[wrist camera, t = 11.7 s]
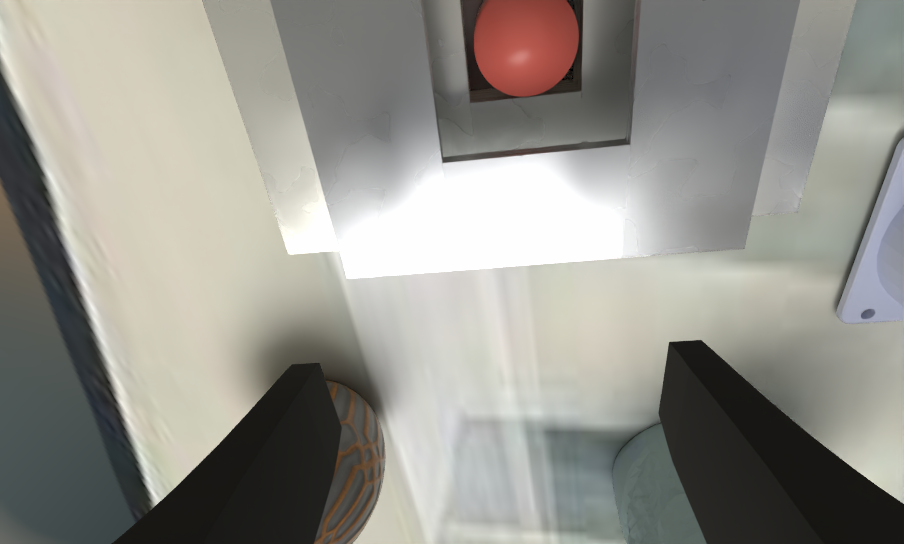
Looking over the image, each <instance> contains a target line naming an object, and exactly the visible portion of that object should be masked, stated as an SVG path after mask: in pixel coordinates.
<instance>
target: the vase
mask: <svg viewBox="0 0 904 544" xmlns="http://www.w3.org/2000/svg"><path fill="white" fill-rule="evenodd" d="M325 381H326V383H327V386H328V389H329V392H330V395H331V398H332V401H333V403H334V406H335V409H336V412H337V415H338V418H339V421H340V424H341V426H342V431H341V437H340V444H339V450H338V456H337V462H336V467H335V473H334V477H333V480H332V484H331V488H330V491H329V494H328V498H327V501H326V505H325V508H324V512H323V515H322V518H321V522H320V525H319V528H318V532H317V535H316V538H315V542H314V544H352V543H353V542H354V541H355V540H356V539H357V537H358V536H359V535H360V533H361V532H362V531H363V529H364V527H365V526H366V524H367V522H368V520H369V518H370V517H371V515H372V513H373V510H374V508H375V506H376V504H377V501H378V498H379V495H380V492H381V487H382V483H383V477H384V470H385V443H384V437H383V432H382V429H381V426H380V423H379V420H378V418H377V416H376V414H375V413H374V411H373V410H372V408H371V407H370V405H369V404H368V403H367V402H366V401H365V400H364V399H363V398H362V397H361V396H360V395H358V394H357V393H356V392H355V391H353V390H352V389H350V388H348V387H346V386H344V385H342V384H339V383H336V382H332V381H327V380H325Z"/></svg>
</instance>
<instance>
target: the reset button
mask: <svg viewBox="0 0 904 544" xmlns="http://www.w3.org/2000/svg"><path fill="white" fill-rule="evenodd" d="M578 42H579V29H578V24H577V20H576V16H575V14H574V12H573V10H572V8H571V6H570V5H569V3H568V2H567V1H566V0H484V1H483V3H482V4H481V6H480V8H479V10H478V13H477V16H476V21H475V29H474V52H475V58H476V61H477V64H478V67H479V69H480V71H481V73H482V74H483V76H484V77H485V79H486V80H487V81H488V82H489V83H490V84H491V85H492V86H493V87H495V88H496V89H497V90H499V91H501V92H503V93H506V94H508V95H512V96H519V97H528V96H533V95H537V94H540V93H543V92H545V91H547V90H549V89H550V88H552V87H553V86H555V85H556V84H557V83H558V82H559V81H560V80H561V79H562V78H563V77H564V76H565V75H566V73H567V72H568V70H569V69H570V67H571V65H572V63H573V61H574V59H575V56H576V53H577V48H578Z"/></svg>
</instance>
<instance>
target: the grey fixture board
mask: <svg viewBox="0 0 904 544" xmlns="http://www.w3.org/2000/svg"><path fill="white" fill-rule="evenodd" d="M856 1H857V0H574V14H575V16H576V20H577V24H578V29H579V42H578V48H577V53H576V56H575V59H574V61H573V80H564V81H559V82H558V83H557V84H556V85H555V86H553V87H552V88H550V89H549V90H547V91H545V92H543V93H540V94H537V95H533V96H528V97H519V96H512V95H508V94H506V93H503V92H501V91H499V90H497V89H496V88H492V89H483V90H474V91H470V81H469V70H468V60H467V49H466V38H465V28H464V17H463V7H462V0H202V2H203V5H204V8H205V10H206V13H207V16H208V19H209V22H210V25H211V28H212V31H213V34H214V37H215V40H216V43H217V46H218V49H219V52H220V55H221V57H222V60H223V63H224V66H225V69H226V72H227V75H228V78H229V81H230V84H231V87H232V90H233V93H234V96H235V99H236V102H237V104H238V107H239V110H240V113H241V116H242V119H243V122H244V125H245V128H246V131H247V134H248V137H249V140H250V143H251V146H252V149H253V152H254V154H255V157H256V160H257V163H258V166H259V169H260V172H261V175H262V178H263V181H264V184H265V187H266V190H267V193H268V196H269V199H270V201H271V204H272V207H273V210H274V213H275V216H276V219H277V222H278V225H279V228H280V231H281V234H282V237H283V240H284V243H285V246H286V248H287V251H288V254H301V253H314V252H326V251H338V250H339V252H340V255H341V259H342V263H343V266H344V270H345V274H346V277H347V279H353V278H366V277H379V276H393V275H406V274H419V273H432V272H445V271H458V270H471V269H484V268H497V267H511V266H524V265H537V264H550V263H563V262H576V261H589V260H602V259H615V258H629V257H642V256H655V255H668V254H681V253H694V252H707V251H720V250H733V249H744V248H745V243H746V239H747V235H748V230H749V226H750V221H751V217H752V216H764V215H776V214H788V213H798V209H799V206H800V202H801V199H802V195H803V191H804V188H805V184H806V181H807V177H808V173H809V170H810V166H811V163H812V159H813V155H814V152H815V148H816V145H817V141H818V137H819V134H820V130H821V127H822V123H823V120H824V116H825V112H826V109H827V105H828V102H829V98H830V94H831V91H832V87H833V84H834V80H835V76H836V73H837V69H838V66H839V62H840V59H841V55H842V51H843V48H844V44H845V41H846V37H847V33H848V30H849V26H850V23H851V19H852V15H853V12H854V8H855V5H856Z"/></svg>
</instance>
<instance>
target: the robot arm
mask: <svg viewBox="0 0 904 544" xmlns="http://www.w3.org/2000/svg"><path fill="white" fill-rule="evenodd" d="M865 310H866V311H865ZM863 311H865V312H863ZM862 312H863V313H862ZM836 315H837V316H838V318H839V319H840V320H841V321H842V322H844V323H848V324H854V323H870V322H886V321H903V320H904V137H903V138H902V139H901V140H900V142H899V143H898V145H897V147H896V150H895V153H894V155H893V158H892V161H891V163H890V166H889V169H888V172H887V174H886V177H885V180H884V183H883V185H882V188H881V191H880V193H879V196H878V199H877V202H876V204H875V207H874V210H873V213H872V215H871V218H870V221H869V223H868V226H867V229H866V232H865V234H864V237H863V240H862V242H861V245H860V248H859V251H858V253H857V256H856V259H855V262H854V264H853V267H852V270H851V272H850V275H849V278H848V281H847V283H846V286H845V289H844V292H843V294H842V297H841V300H840V302H839V305H838V308H837V311H836ZM659 416H660V420H661V424H662V427H663V431H664V435H665V438H666V442H667V445H668V448H669V452H670V455H671V458H672V462H673V464H674V467H675V469H676V472H677V474H678V476H679V479H680V481H681V484H682V486H683V488H684V491H685V493H686V496H687V498H688V501H689V503H690V505H691V508H692V510H693V512H694V515H695V517H696V519H697V522H698V524H699V527H700V529H701V531H702V534H703V536H704V538H705V541H706V543H707V544H904V504H903V503H901V502H900V501H898V500H897V499H896V498H894V497H893V496H891V495H890V494H888V493H887V492H885V491H884V490H882V489H881V488H880V487H878V486H877V485H875V484H874V483H873V482H871V481H870V480H868V479H867V478H866V477H864V476H863V475H862V474H860V473H859V472H857V471H856V470H855V469H853V468H852V467H851V466H849V465H848V464H847V463H846V462H844V461H843V460H842V459H840V458H839V457H838V456H836V455H835V454H834V453H833V452H831V451H830V450H829V449H827V448H826V447H825V446H823V445H822V444H821V443H820V442H818V441H817V440H816V439H814V438H813V437H812V436H811V435H810V434H808V433H807V432H806V431H805V430H803V429H802V428H801V427H800V426H799V425H797V424H796V423H795V422H794V421H793V420H791V419H790V418H789V417H788V416H787V415H785V414H784V413H783V412H782V411H781V410H780V409H778V408H777V407H776V406H775V405H774V404H772V403H771V402H770V401H769V400H768V399H767V398H765V397H764V396H763V395H762V394H761V393H760V392H759V391H757V390H756V389H755V388H754V387H753V386H752V385H751V384H750V383H749V382H747V381H746V380H745V379H744V378H743V377H742V376H741V375H740V374H738V373H737V372H736V371H735V370H734V369H733V368H732V367H731V366H730V365H728V364H727V363H726V362H725V361H724V360H723V359H722V358H721V357H720V356H718V355H717V354H716V353H715V352H714V351H713V350H712V349H711V348H710V347H708V346H707V345H706V344H705V343H704V342H703V341H702V340H696V341H679V342H669V347H668V354H667V361H666V367H665V374H664V381H663V387H662V394H661V401H660V407H659ZM341 431H342V426H341V424H340V421H339V418H338V415H337V412H336V409H335V406H334V403H333V401H332V398H331V395H330V392H329V389H328V386H327V383H326V381H325V378H324V375H323V372H322V369H321V366H320V363H310V364H293V365H291V366H290V367H289V368H288V369H287V370H286V371H285V373H284V374H283V375H282V376H281V377H280V378H279V379H278V380H277V381H276V382H275V384H274V385H273V386H272V387H271V388H270V389H269V390H268V391H267V392H266V394H265V395H264V396H263V397H262V398H261V399H260V400H259V401H258V402H257V404H256V405H255V406H254V407H253V408H252V409H251V410H250V411H249V412H248V414H247V415H246V416H245V417H244V418H243V419H242V420H241V421H240V422H239V423H238V424H237V425H236V426H235V428H234V429H233V430H232V431H231V432H230V433H229V434H228V435H227V436H226V437H225V438H224V439H223V440H222V442H221V443H220V444H219V445H218V446H217V447H216V448H215V449H214V450H213V451H212V452H211V453H210V454H209V455H208V456H207V457H206V458H205V459H204V460H203V461H202V462H201V463H200V464H199V465H198V466H197V467H196V468H195V469H194V470H193V471H192V472H191V473H190V474H189V475H188V476H187V477H186V478H185V479H184V480H183V481H182V482H181V483H180V484H179V485H178V486H177V487H176V488H174V489H173V490H172V491H171V492H170V493H169V494H168V495H167V496H166V497H165V498H164V499H163V500H162V501H160V502H159V503H158V504H157V505H156V506H155V507H154V508H153V509H152V510H151V511H149V512H148V513H147V514H146V515H145V516H144V517H142V518H141V519H140V520H139V521H138V522H137V523H136V524H134V525H133V526H132V527H131V528H130V529H129V530H127V531H126V532H125V533H124V534H123V535H122V536H120V537H119V538H118V539H117V540H116V541H114V542H113V543H112V544H314V542H315V538H316V535H317V532H318V528H319V525H320V522H321V518H322V515H323V512H324V508H325V505H326V501H327V498H328V494H329V491H330V488H331V484H332V480H333V477H334V473H335V467H336V462H337V456H338V450H339V444H340V437H341Z"/></svg>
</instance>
